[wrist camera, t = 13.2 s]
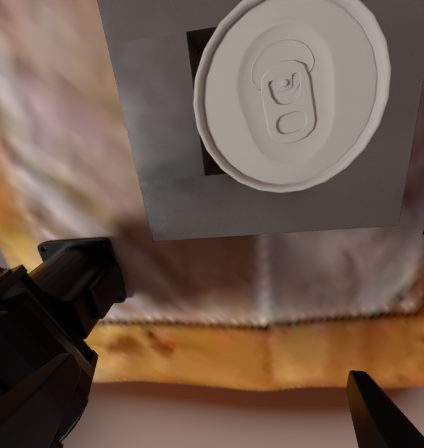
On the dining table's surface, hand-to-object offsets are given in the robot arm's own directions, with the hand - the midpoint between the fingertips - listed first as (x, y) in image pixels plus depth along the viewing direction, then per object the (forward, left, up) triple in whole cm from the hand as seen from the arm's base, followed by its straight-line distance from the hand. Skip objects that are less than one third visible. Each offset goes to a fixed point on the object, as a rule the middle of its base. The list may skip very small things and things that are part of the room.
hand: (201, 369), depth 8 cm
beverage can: (+3, +8, -13) cm, 16 cm away
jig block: (+3, +8, -13) cm, 16 cm away
